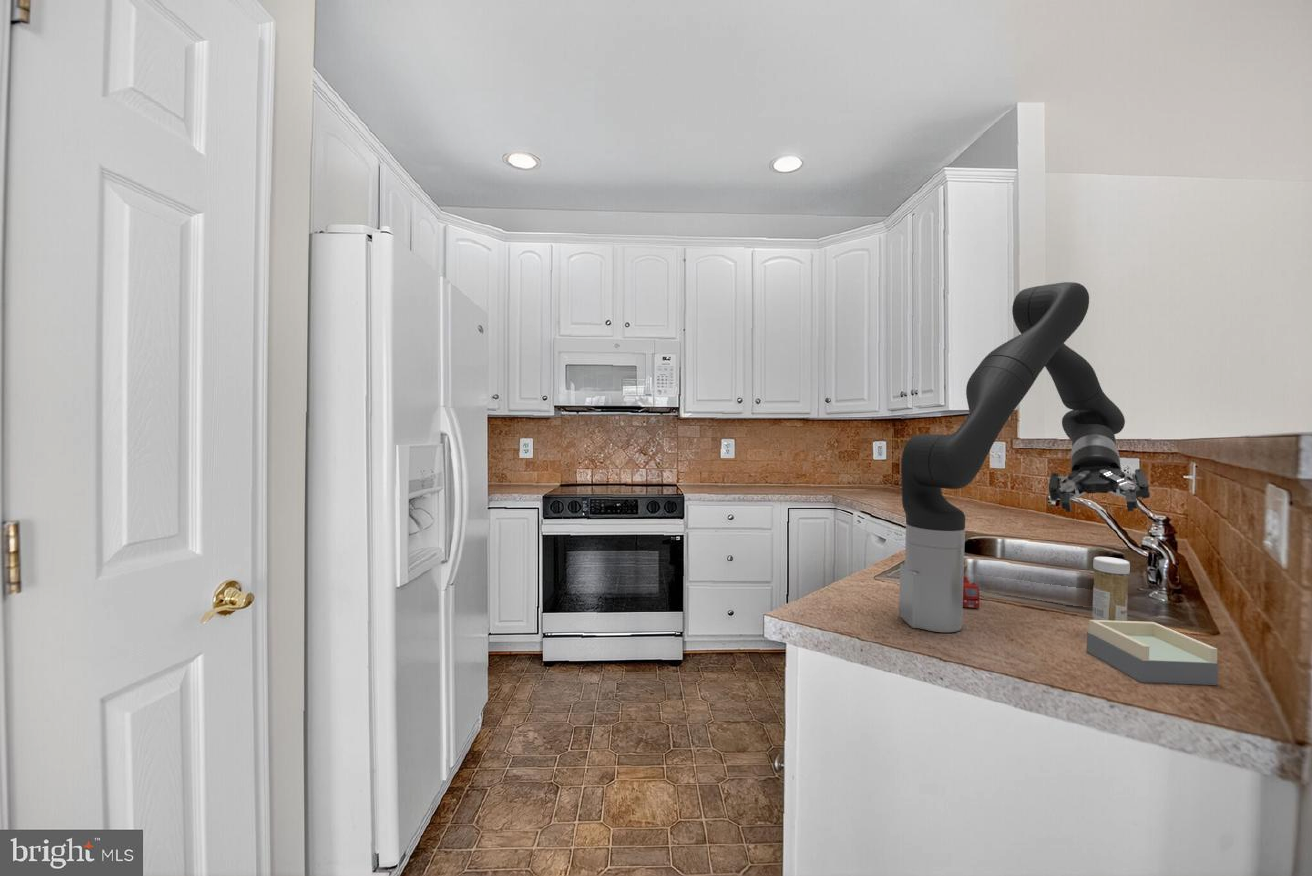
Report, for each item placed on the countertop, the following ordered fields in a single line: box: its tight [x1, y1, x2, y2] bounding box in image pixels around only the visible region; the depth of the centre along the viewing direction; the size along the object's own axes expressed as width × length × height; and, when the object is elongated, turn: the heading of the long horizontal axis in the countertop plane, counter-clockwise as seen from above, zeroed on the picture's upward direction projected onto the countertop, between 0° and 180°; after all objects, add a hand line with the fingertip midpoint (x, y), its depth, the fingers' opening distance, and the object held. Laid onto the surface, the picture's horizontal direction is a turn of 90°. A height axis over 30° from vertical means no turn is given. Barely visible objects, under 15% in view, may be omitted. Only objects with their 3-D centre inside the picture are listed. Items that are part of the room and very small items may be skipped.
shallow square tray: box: [1086, 619, 1219, 686], centre depth 79 cm, size 10×10×5 cm
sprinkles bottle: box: [1092, 556, 1131, 621], centre depth 88 cm, size 5×5×14 cm
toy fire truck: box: [963, 558, 980, 609], centre depth 109 cm, size 3×14×10 cm, turn 168°
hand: (1098, 507), depth 96 cm, fingers open, 8 cm apart
